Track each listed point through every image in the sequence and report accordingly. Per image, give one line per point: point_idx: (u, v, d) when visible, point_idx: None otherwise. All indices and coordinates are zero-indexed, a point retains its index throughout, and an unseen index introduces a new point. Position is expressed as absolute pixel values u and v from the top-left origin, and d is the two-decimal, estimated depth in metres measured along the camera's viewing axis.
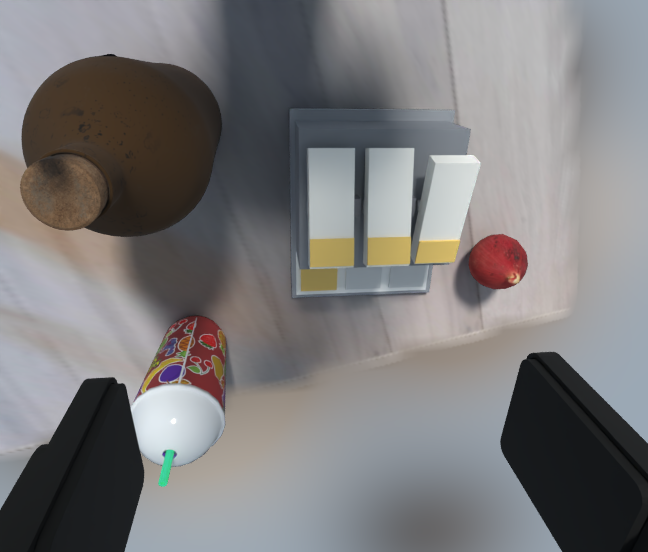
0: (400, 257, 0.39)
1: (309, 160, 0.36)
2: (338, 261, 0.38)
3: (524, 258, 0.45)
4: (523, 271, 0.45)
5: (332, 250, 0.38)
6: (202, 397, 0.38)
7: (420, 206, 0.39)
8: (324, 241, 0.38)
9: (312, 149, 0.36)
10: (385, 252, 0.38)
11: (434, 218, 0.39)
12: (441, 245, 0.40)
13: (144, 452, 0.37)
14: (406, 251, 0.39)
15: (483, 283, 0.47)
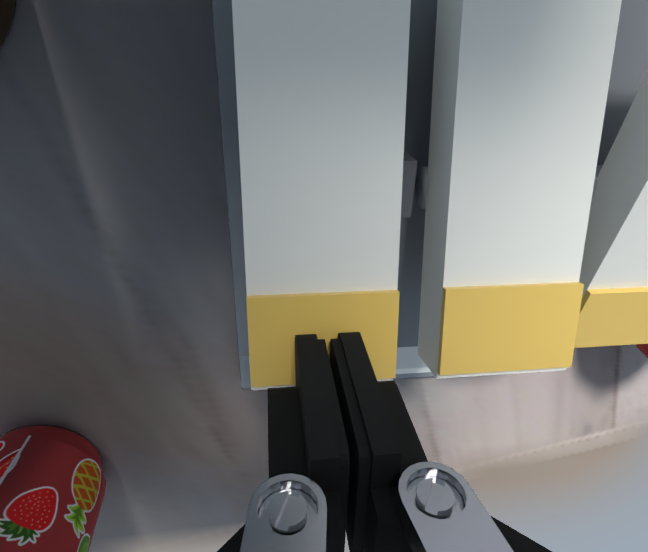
0: (544, 348, 0.12)
1: None
2: None
3: None
4: None
5: (325, 332, 0.11)
6: None
7: (601, 185, 0.13)
8: (298, 303, 0.11)
9: None
10: (499, 334, 0.12)
11: None
12: (647, 302, 0.14)
13: None
14: (564, 329, 0.12)
15: None
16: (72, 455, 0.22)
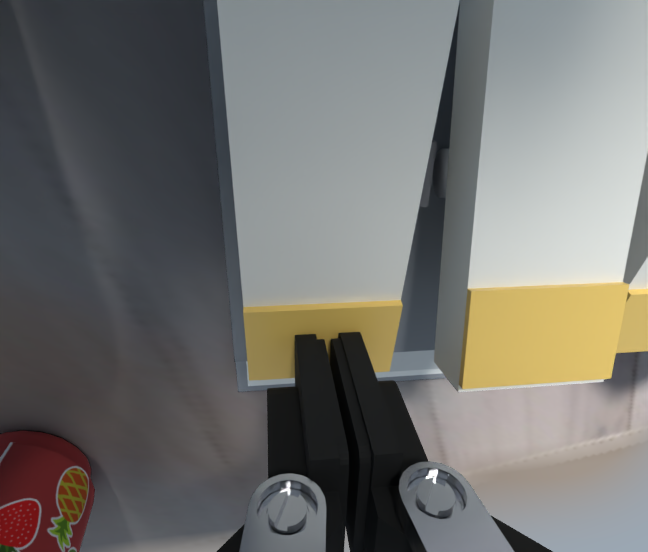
0: (581, 358, 0.11)
1: None
2: None
3: None
4: None
5: (323, 338, 0.11)
6: None
7: (646, 171, 0.11)
8: (296, 315, 0.11)
9: None
10: (531, 342, 0.10)
11: None
12: None
13: None
14: (605, 336, 0.10)
15: None
16: (57, 463, 0.21)
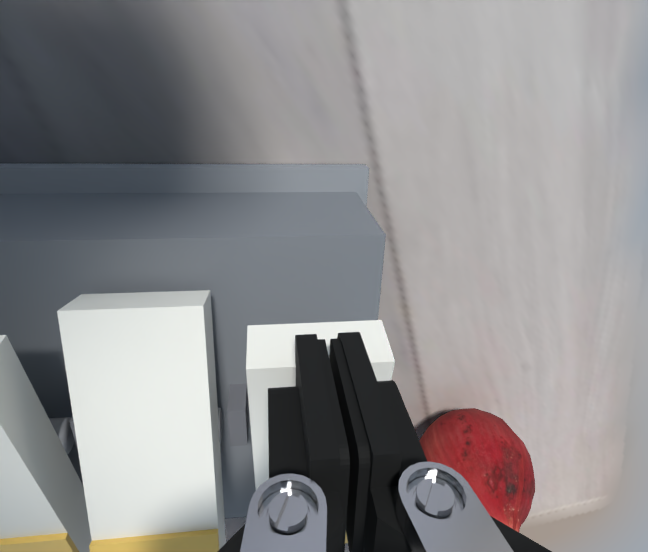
0: None
1: None
2: None
3: (528, 484, 0.21)
4: (526, 514, 0.21)
5: None
6: None
7: None
8: None
9: None
10: None
11: None
12: None
13: None
14: None
15: None
16: None
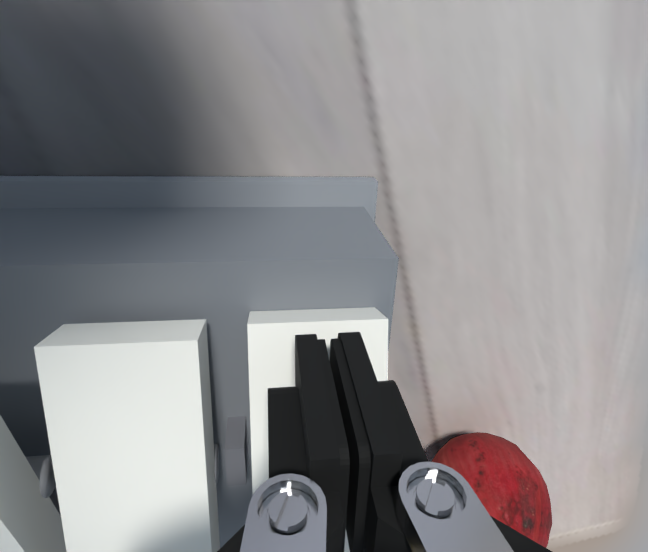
0: None
1: None
2: None
3: (545, 518, 0.20)
4: None
5: None
6: None
7: None
8: None
9: None
10: None
11: None
12: None
13: None
14: None
15: None
16: None
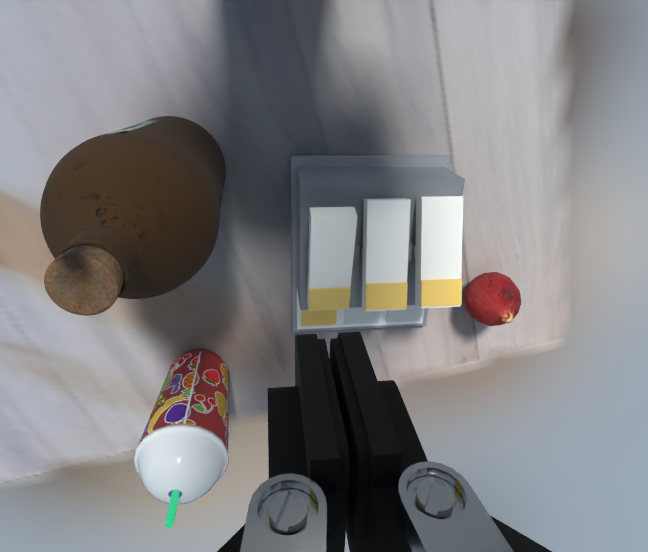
0: (397, 302, 0.40)
1: (311, 226, 0.36)
2: (334, 305, 0.42)
3: (517, 297, 0.47)
4: (516, 310, 0.47)
5: (329, 298, 0.41)
6: (206, 437, 0.40)
7: (416, 248, 0.41)
8: (322, 291, 0.40)
9: (315, 217, 0.36)
10: (383, 297, 0.40)
11: (432, 254, 0.40)
12: (444, 284, 0.40)
13: (151, 491, 0.38)
14: (403, 296, 0.40)
15: (478, 319, 0.49)
16: (218, 360, 0.51)
